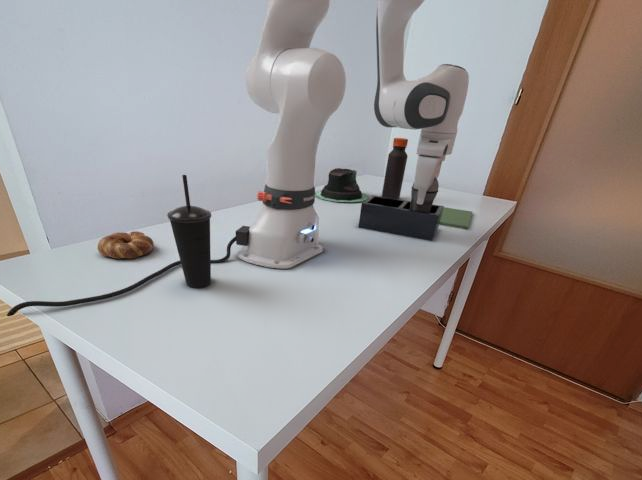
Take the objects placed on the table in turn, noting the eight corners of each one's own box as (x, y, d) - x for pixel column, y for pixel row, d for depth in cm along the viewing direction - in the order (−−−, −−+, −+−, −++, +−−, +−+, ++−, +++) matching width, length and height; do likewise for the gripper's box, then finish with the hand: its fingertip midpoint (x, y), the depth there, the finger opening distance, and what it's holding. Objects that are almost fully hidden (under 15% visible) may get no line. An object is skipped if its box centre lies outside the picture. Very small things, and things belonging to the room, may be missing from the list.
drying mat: (467, 229, 112) (468, 226, 111) (409, 219, 117) (409, 216, 117) (471, 213, 127) (472, 211, 126) (419, 205, 132) (420, 203, 132)
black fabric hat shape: (324, 184, 148) (372, 192, 144) (310, 217, 141) (361, 226, 137) (323, 151, 135) (376, 158, 131) (308, 185, 128) (363, 194, 124)
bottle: (378, 196, 141) (387, 137, 129) (393, 196, 142) (404, 137, 131) (386, 201, 135) (397, 139, 124) (402, 200, 137) (414, 140, 125)
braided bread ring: (98, 263, 78) (93, 246, 76) (100, 246, 87) (95, 230, 84) (156, 258, 82) (153, 242, 80) (153, 241, 90) (150, 226, 88)
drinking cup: (201, 271, 78) (189, 169, 66) (225, 282, 74) (216, 176, 62) (171, 282, 73) (151, 174, 61) (194, 295, 69) (178, 182, 57)
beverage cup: (429, 236, 104) (451, 158, 92) (404, 234, 104) (422, 156, 92) (423, 227, 110) (443, 153, 98) (400, 225, 110) (416, 151, 98)
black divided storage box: (432, 241, 101) (438, 215, 97) (358, 227, 108) (361, 203, 104) (437, 230, 110) (444, 206, 105) (368, 218, 116) (372, 195, 112)
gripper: (429, 140, 102) (417, 192, 110) (416, 147, 87) (403, 206, 95) (452, 142, 100) (438, 195, 109) (443, 150, 85) (428, 210, 93)
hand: (422, 200), depth 102 cm, fingers closed on beverage cup, 6 cm apart
